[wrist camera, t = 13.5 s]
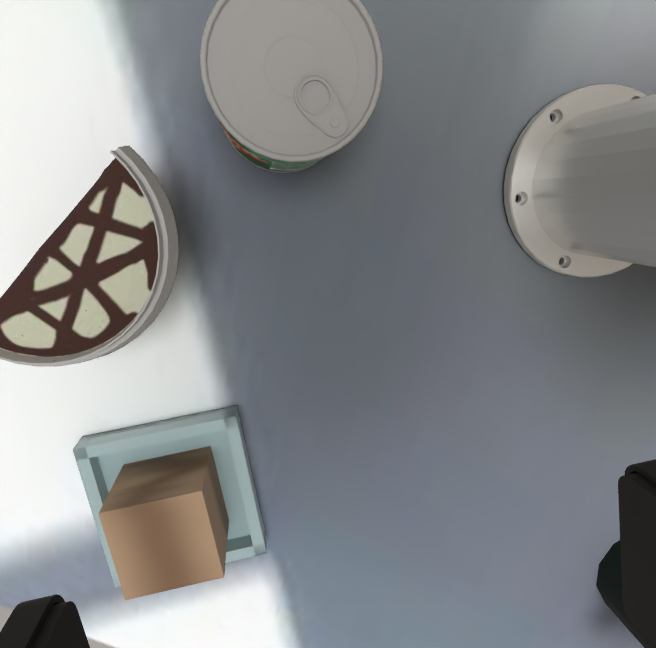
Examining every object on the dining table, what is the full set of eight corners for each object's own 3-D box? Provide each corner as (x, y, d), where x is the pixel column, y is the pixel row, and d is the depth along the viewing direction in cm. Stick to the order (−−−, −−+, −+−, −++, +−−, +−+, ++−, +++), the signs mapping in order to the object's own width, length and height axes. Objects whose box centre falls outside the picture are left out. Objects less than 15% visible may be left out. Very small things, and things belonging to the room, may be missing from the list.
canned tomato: (190, 96, 33) (158, 46, 22) (289, 10, 33) (304, -82, 22) (275, 199, 35) (283, 199, 24) (369, 119, 35) (418, 83, 24)
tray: (236, 405, 38) (235, 416, 36) (266, 536, 40) (266, 553, 38) (82, 436, 37) (72, 449, 35) (122, 568, 39) (115, 587, 37)
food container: (116, 365, 36) (63, 426, 26) (36, 306, 35) (-51, 347, 25) (236, 225, 35) (227, 234, 25) (159, 158, 33) (118, 141, 24)
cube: (210, 445, 37) (201, 490, 32) (229, 521, 39) (224, 577, 33) (123, 464, 37) (98, 513, 31) (145, 539, 38) (125, 600, 33)
